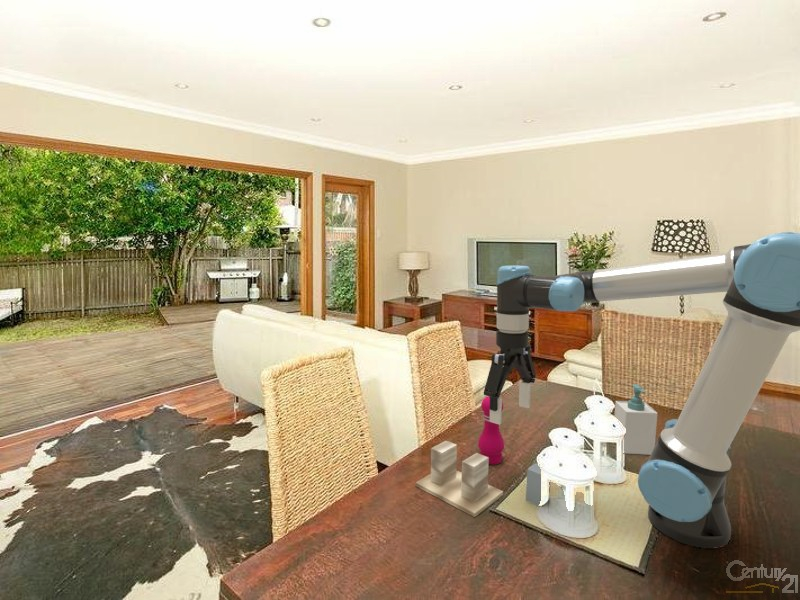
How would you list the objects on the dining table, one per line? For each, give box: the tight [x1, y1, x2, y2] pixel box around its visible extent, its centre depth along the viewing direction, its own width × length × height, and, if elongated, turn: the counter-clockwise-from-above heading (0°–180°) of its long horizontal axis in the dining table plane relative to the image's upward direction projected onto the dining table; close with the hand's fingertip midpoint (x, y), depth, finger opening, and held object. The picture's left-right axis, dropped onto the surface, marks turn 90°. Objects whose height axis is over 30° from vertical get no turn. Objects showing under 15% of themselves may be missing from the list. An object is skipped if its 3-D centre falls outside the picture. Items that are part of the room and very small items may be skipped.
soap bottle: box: [614, 383, 658, 456], centre depth 132 cm, size 9×9×19 cm
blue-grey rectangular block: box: [525, 462, 551, 507], centre depth 106 cm, size 4×4×8 cm
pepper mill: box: [477, 396, 505, 465], centre depth 125 cm, size 7×7×20 cm
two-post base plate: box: [415, 440, 504, 518], centre depth 110 cm, size 18×12×10 cm, turn 46°
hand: (510, 414), depth 110 cm, fingers open, 13 cm apart
